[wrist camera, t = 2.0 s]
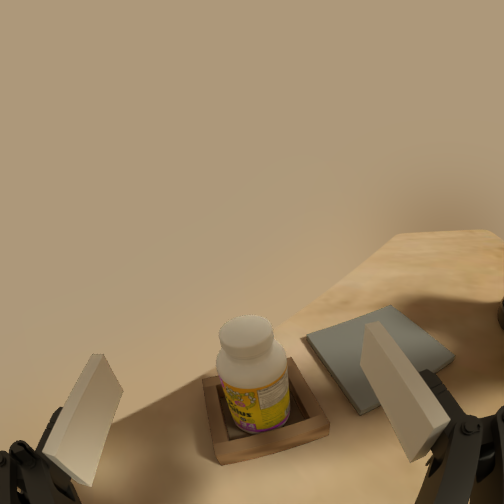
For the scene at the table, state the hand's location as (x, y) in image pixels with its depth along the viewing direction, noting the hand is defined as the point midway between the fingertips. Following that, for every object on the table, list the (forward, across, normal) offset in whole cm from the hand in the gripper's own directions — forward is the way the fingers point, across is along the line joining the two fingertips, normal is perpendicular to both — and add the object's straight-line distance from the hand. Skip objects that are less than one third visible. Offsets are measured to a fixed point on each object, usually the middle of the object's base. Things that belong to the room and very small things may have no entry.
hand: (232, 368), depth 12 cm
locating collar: (+10, 0, -18) cm, 20 cm away
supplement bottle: (+10, 0, -18) cm, 20 cm away
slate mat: (+16, +18, -17) cm, 29 cm away
